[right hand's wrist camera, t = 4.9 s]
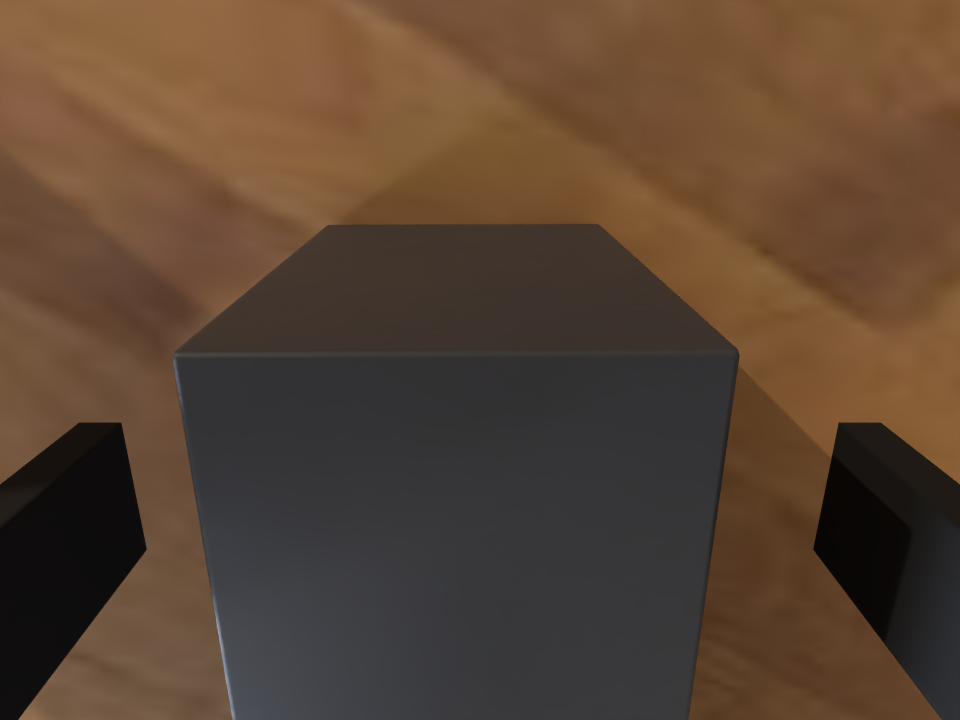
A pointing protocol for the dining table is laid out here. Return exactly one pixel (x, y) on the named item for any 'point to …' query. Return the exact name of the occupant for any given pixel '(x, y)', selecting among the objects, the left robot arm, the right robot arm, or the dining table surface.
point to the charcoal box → (458, 477)
